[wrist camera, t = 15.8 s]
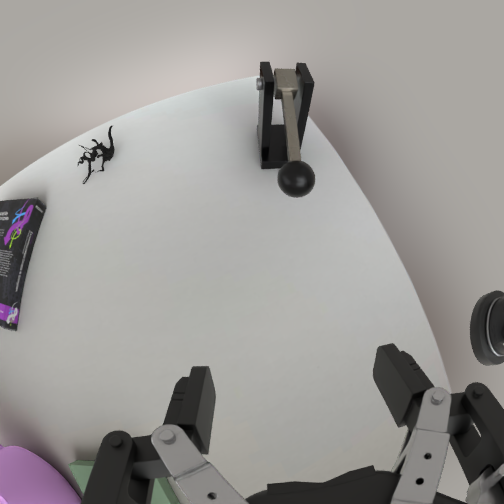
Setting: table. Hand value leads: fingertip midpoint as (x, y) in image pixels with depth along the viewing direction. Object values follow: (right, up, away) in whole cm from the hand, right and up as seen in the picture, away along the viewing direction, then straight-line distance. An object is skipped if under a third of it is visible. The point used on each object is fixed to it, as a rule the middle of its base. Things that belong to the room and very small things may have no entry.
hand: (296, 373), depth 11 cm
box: (-41, +4, +17) cm, 45 cm away
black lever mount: (+1, +20, +23) cm, 31 cm away
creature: (-25, +19, +23) cm, 39 cm away
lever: (+2, +18, +15) cm, 24 cm away
